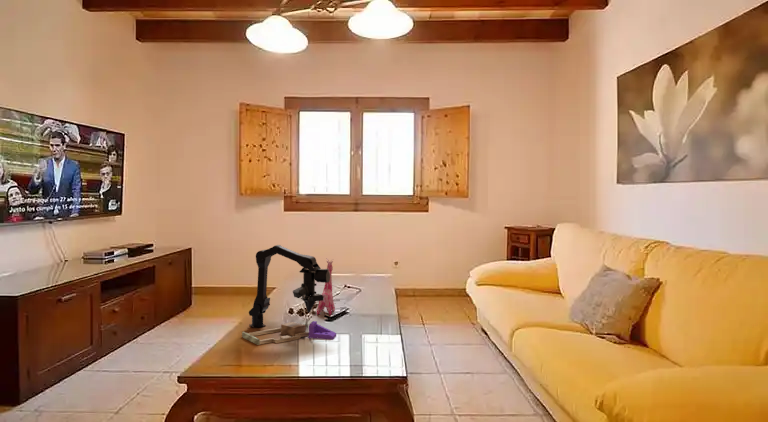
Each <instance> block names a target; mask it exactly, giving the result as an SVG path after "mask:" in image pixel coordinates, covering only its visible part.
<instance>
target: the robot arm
mask: <svg viewBox="0 0 768 422" xmlns="http://www.w3.org/2000/svg"><path fill="white" fill-rule="evenodd" d="M276 255H279V256H282V257H285V258H287V259H289V260H291V261H294V262H296V263H297V264H298V265H299V266H301V267H302V268H301V269H300V270H299V271H298V272H299V273H300V274H302V273H303V281H302V282H303V283H301V284H300V286H299V287H297V288H296V289H294V290H292V295H293V297H294V298H297V299H300V300H302V301H303V302H304V306H305V307H306V312H307V313H311V311H312V309H313V306H314V305H315V304H316V302H319V301H323V300H324V296H323V295H321V294H322V293H321V294H320V293H317V291H316V288H315V287H316V286H317V283H324V284H325V283H328V282H329V281H330V273H329V269H327V268H321V267H320V265H319V264H318V262H317V259H316V257H315V256H312V255H308V254H302V253H299V252H296V251H294V250H292V249H289V248H288V247H287V248H286V247H284V246H283V245H281V244H277V245H274V246H272V247H270V248H267V249H262V250H258V251H257V252H256V253H255V262H256V265H257V269H258V270H257V288H256V289H257V290H256V296H255V298H254V300H253V305H252V308H251V309H250V310H249V311H248V314H249V316H250V317H251V323H250V324H249V325H248V326H249V327H251V328H253V329H255V328H256V329H257V328H261V327H266V326H267V325H266V324H264V314H265V313H266V312H267V310H268V309H269V307H270V306H271V302H270V301H271V297H268V295H267V290H268V289H267V288H268V285H267V284H268V270H269V269H268V268H269V266H270V263H271V260H272V257H273V256H276Z"/></svg>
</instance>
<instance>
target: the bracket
mask: <svg viewBox="0 0 768 422" xmlns="http://www.w3.org/2000/svg"><path fill="white" fill-rule="evenodd" d="M317 322H318V321H315V320H313V321H311V322H310V323H309V324H308V332H309V336H308V339H323V340H334V339H335V338H336V337H337V332H335V331H334V330H331V329H329V328H327V327H324V326H322V325H321V324H318V323H317Z"/></svg>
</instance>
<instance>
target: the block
mask: <svg viewBox="0 0 768 422" xmlns="http://www.w3.org/2000/svg"><path fill="white" fill-rule="evenodd" d="M280 326H281V327H280V328H281V331H280V333H281V334H283V335H286V336H287V335H288V336H290V337H294V336H295V334H298V333H304V332H307V331H306V329H307V328H306V324H302V323H298V322H295V321H290V322H286V323H282V324H280Z"/></svg>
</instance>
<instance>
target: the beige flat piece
mask: <svg viewBox="0 0 768 422" xmlns="http://www.w3.org/2000/svg"><path fill="white" fill-rule="evenodd" d="M273 333H281V327H276V328H269V329H264V330H258V331H252V332H245V331H242V332H241V337H242V338H243V339H244V340H247V341H249V342H251V343H253V344H255V345H256V346H257V345H258V346H259V345H264V344H269V343H274V344H279V343H284V342H290V341H295V340H300V339H301V338H303V337H309V331H306V332H304V333H298V334H295V336H291V335H287V334H286V335H283V336H279V339H275V338H274V337H272V338H264V339H260V338H258V337H257V336H261V335H268V334H273Z"/></svg>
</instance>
